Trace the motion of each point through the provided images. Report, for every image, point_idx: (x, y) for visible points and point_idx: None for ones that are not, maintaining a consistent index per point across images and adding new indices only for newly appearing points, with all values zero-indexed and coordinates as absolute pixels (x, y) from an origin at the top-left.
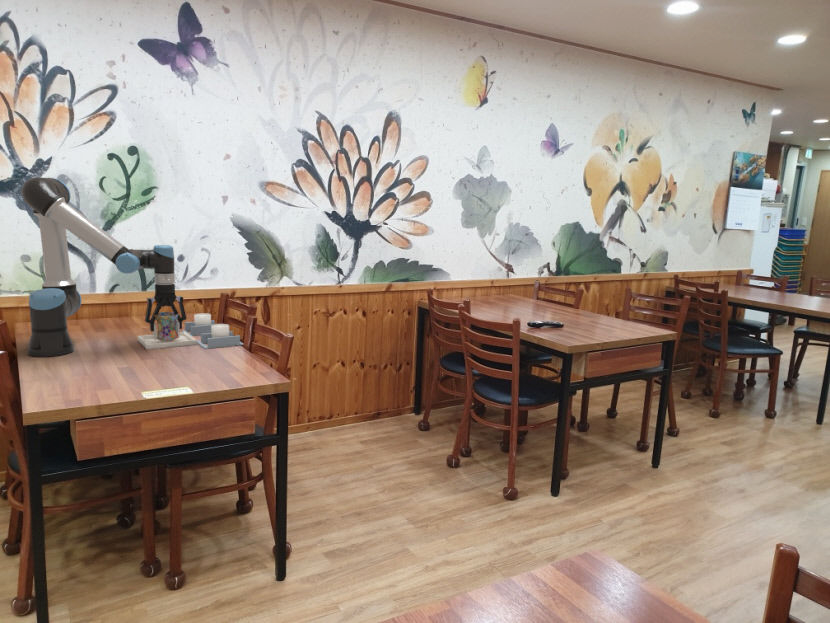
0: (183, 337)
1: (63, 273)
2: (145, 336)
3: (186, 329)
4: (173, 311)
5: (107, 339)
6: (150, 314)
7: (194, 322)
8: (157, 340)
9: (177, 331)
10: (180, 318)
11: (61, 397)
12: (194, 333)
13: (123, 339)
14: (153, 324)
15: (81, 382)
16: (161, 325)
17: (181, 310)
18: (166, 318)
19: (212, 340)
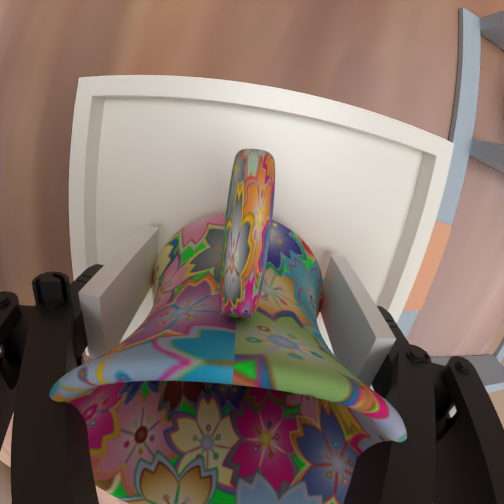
0: (398, 205)
1: None
2: (126, 95)
3: (489, 31)
4: (367, 484)
5: (10, 4)
6: (7, 428)
7: None
8: (194, 187)
9: (329, 323)
10: None
11: (9, 457)
12: (488, 163)
13: (54, 17)
14: (86, 340)
15: (7, 439)
16: (155, 406)
17: (436, 494)
18: (183, 499)
19: None
